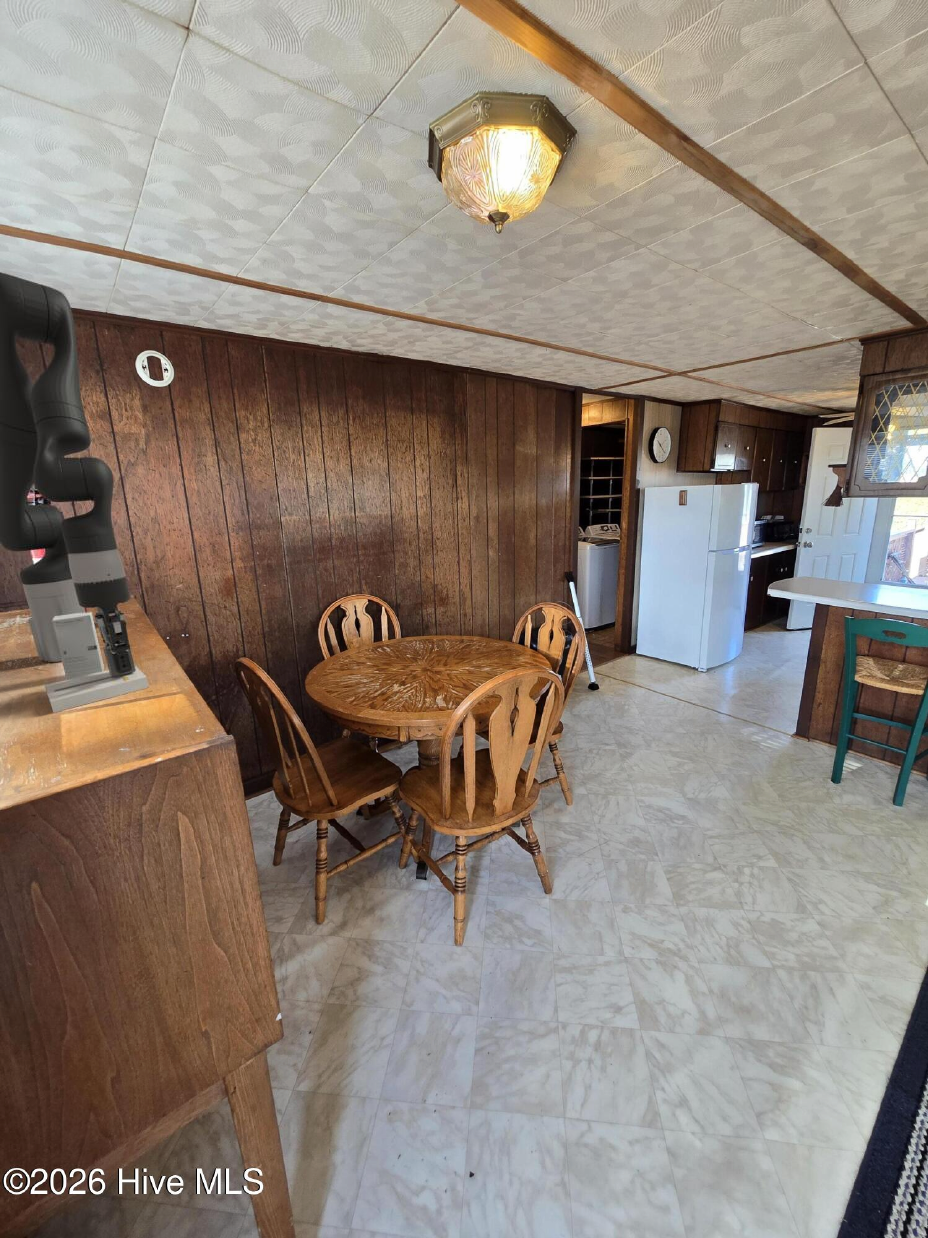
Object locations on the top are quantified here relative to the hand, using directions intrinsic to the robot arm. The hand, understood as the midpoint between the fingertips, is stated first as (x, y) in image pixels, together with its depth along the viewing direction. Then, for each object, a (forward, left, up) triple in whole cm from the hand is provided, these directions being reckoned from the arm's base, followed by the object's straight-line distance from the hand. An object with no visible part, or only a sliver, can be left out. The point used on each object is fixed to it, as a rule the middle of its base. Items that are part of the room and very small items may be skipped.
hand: (122, 669), depth 91 cm
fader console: (-3, -3, -3) cm, 5 cm away
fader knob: (0, 0, -1) cm, 1 cm away
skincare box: (-13, +7, -3) cm, 15 cm away
